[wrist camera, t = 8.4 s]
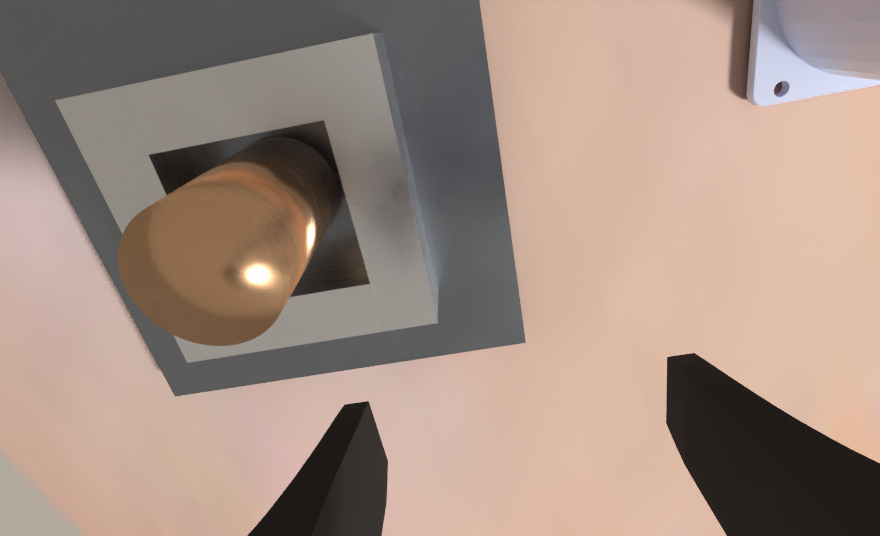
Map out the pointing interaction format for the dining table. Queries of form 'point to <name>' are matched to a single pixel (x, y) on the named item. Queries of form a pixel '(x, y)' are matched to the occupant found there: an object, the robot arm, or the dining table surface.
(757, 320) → the dining table surface
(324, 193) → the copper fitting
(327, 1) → the flange socket
